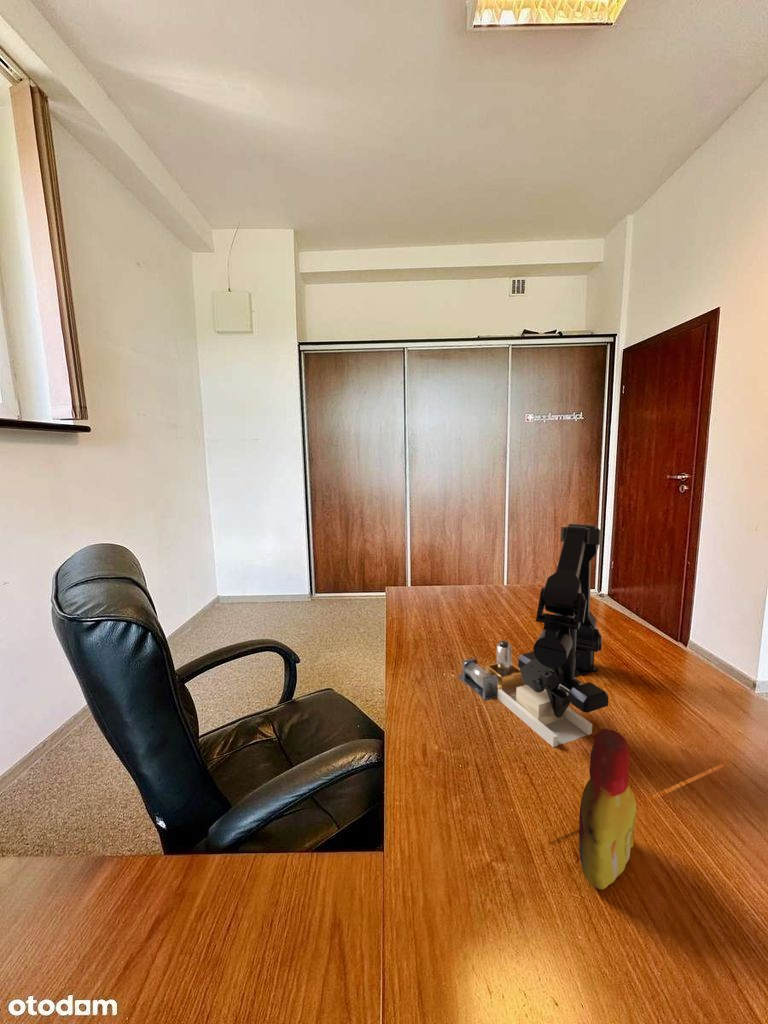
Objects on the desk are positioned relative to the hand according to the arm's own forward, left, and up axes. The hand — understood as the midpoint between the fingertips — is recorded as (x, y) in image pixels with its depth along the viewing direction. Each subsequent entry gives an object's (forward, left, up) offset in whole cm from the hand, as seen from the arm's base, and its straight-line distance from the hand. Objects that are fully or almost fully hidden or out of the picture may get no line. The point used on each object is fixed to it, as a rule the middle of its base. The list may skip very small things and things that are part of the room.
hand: (558, 716), depth 85 cm
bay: (0, -5, -3) cm, 5 cm away
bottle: (+15, +24, -3) cm, 29 cm away
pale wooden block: (0, -5, -2) cm, 6 cm away
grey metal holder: (0, -20, -3) cm, 20 cm away
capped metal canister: (-2, -20, -2) cm, 20 cm away
